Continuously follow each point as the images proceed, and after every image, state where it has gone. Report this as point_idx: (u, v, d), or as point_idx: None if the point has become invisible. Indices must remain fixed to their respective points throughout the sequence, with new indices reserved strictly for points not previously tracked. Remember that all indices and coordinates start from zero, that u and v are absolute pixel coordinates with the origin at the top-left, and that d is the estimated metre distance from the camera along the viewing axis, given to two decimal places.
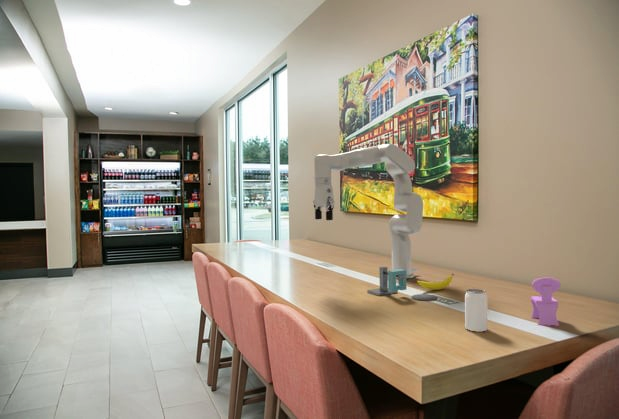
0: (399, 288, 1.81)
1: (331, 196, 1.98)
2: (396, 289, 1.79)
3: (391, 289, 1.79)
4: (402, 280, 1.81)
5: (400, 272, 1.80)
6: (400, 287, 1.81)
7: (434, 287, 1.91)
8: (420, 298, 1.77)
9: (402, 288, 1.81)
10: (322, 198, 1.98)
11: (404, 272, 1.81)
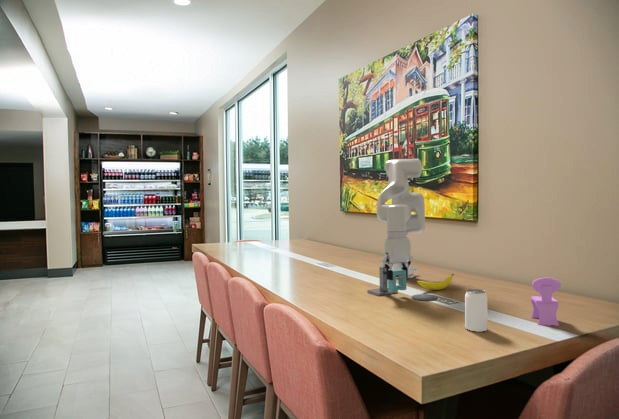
0: (399, 288, 1.81)
1: None
2: (396, 289, 1.79)
3: (391, 289, 1.79)
4: (402, 280, 1.81)
5: (400, 272, 1.80)
6: (400, 287, 1.81)
7: (434, 287, 1.91)
8: (420, 298, 1.77)
9: (402, 288, 1.81)
10: (406, 253, 1.80)
11: (404, 272, 1.81)
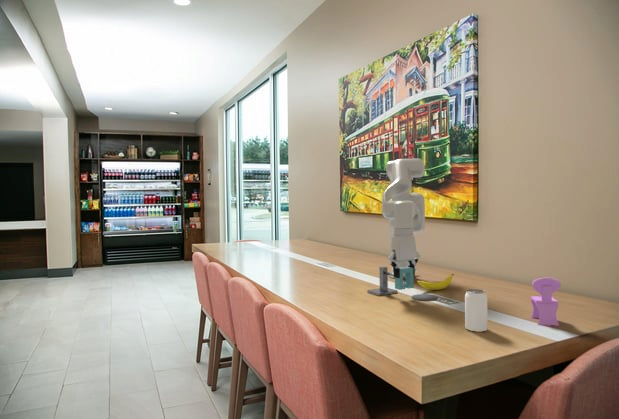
0: (406, 286, 1.78)
1: None
2: (403, 287, 1.75)
3: (398, 287, 1.75)
4: (409, 278, 1.77)
5: (407, 270, 1.76)
6: (407, 285, 1.77)
7: (434, 287, 1.91)
8: (420, 298, 1.77)
9: (409, 287, 1.77)
10: (413, 250, 1.76)
11: (411, 270, 1.77)
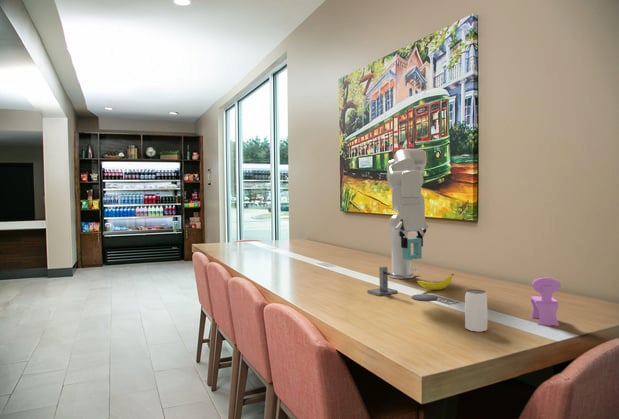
0: (414, 257, 1.75)
1: None
2: (411, 257, 1.73)
3: (406, 257, 1.73)
4: (417, 249, 1.75)
5: (415, 240, 1.73)
6: (415, 256, 1.74)
7: (434, 287, 1.91)
8: (420, 298, 1.77)
9: (417, 257, 1.74)
10: (421, 220, 1.73)
11: (419, 240, 1.74)
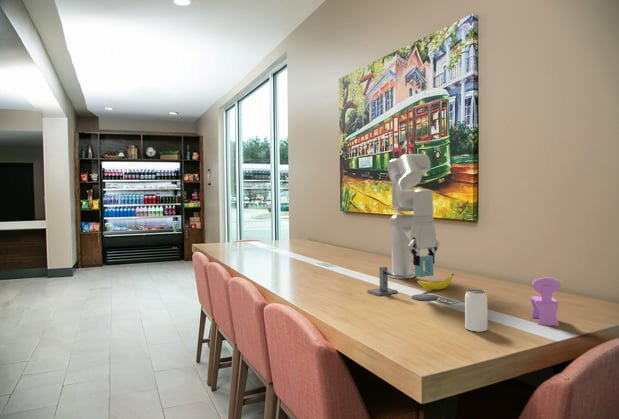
0: (426, 274, 1.79)
1: None
2: (423, 275, 1.76)
3: (418, 275, 1.76)
4: (429, 266, 1.79)
5: (427, 257, 1.77)
6: (427, 273, 1.78)
7: (434, 287, 1.91)
8: (420, 298, 1.77)
9: (429, 274, 1.78)
10: (433, 238, 1.78)
11: (431, 258, 1.78)
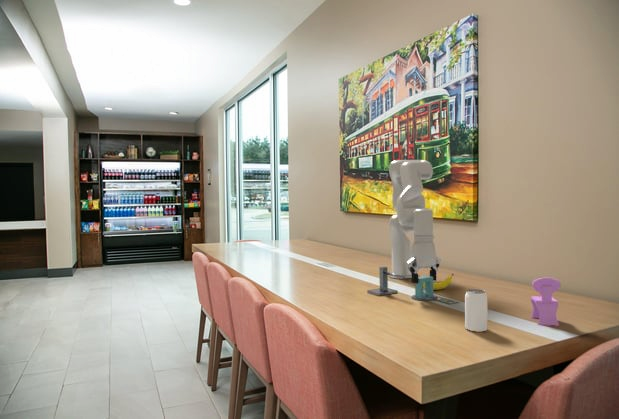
0: (426, 295, 1.79)
1: None
2: (423, 296, 1.77)
3: (418, 296, 1.77)
4: (429, 287, 1.79)
5: (427, 279, 1.78)
6: (427, 294, 1.79)
7: (434, 287, 1.91)
8: None
9: (429, 295, 1.78)
10: (433, 257, 1.78)
11: (431, 279, 1.79)
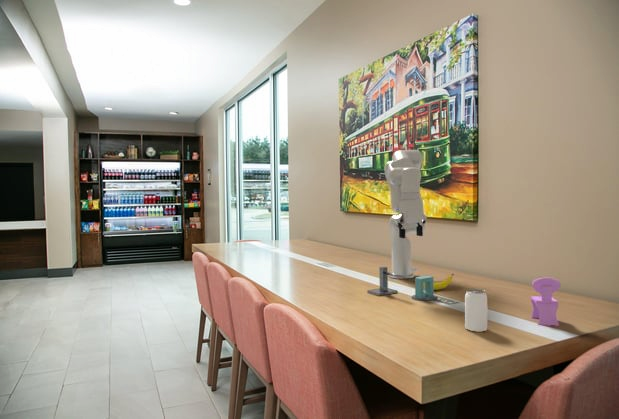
0: (426, 295, 1.79)
1: None
2: (423, 296, 1.77)
3: (418, 296, 1.77)
4: (429, 287, 1.79)
5: (427, 279, 1.78)
6: (427, 294, 1.79)
7: (434, 287, 1.91)
8: None
9: (429, 295, 1.78)
10: (419, 214, 1.88)
11: (431, 279, 1.79)
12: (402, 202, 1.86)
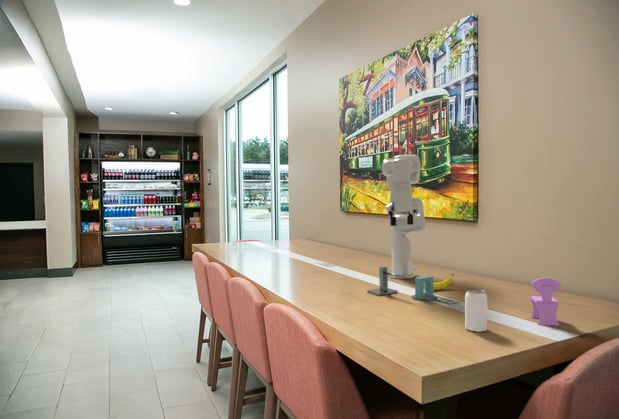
0: (426, 295, 1.79)
1: None
2: (423, 296, 1.77)
3: (418, 296, 1.77)
4: (429, 287, 1.79)
5: (427, 279, 1.78)
6: (427, 294, 1.79)
7: (434, 287, 1.91)
8: None
9: (429, 295, 1.78)
10: (410, 203, 1.96)
11: (431, 279, 1.79)
12: (393, 191, 1.95)
